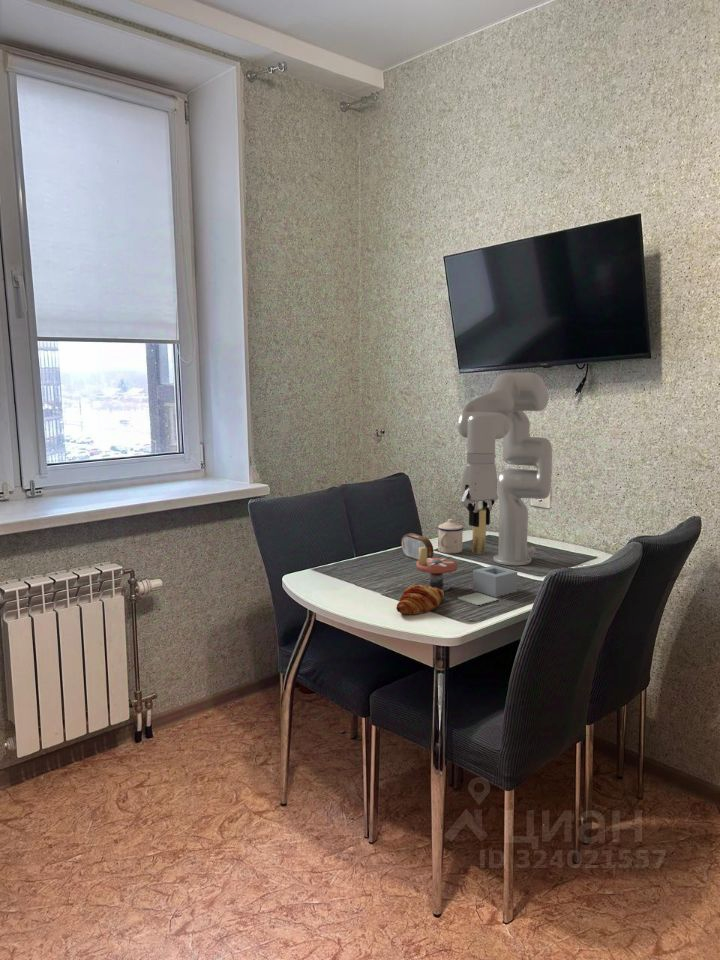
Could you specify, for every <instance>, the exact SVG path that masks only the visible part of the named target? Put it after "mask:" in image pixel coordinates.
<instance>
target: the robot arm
mask: <svg viewBox="0 0 720 960" xmlns="http://www.w3.org/2000/svg"><path fill="white" fill-rule="evenodd" d="M548 403H549V391H548V388H547V386H546V384H545V382H544V380H543V379H542V378H541V376H540V375H538V374H537V373H535V372H503V373H501V374H500V375H498V376H497V377H496V378H495V380H494V382H493V384H492V385H491V388H490V389H489V391H488V392H487V393H486V394H482V395H481V396H478V397H477V398H475V399H473V400H470V401H469V402H468V403H467V404H465V406H464V408H462V411H461V413H460V415H459V418H458V420H457V430H458V433H459V434H460V436H461V437H463V438H464V439H466V440H467V441H466V442H467V443H466V449H467V450H466V464H464V466H463V472H462V476H461V488H460V498H461V500H460V503H461V505H463V506H464V507H465V508H466V511H467V512H469V514H468V526H471V527H473V526H474V527H478V526H479V512H477V511H478V508H479V502H481V508H483V509H486V526H489V525H490V524H491V523H490V522H491V511H492V509H493V505H494V504H495V503H496V502H497V501H498V500H499V501H498V504H499V505H498V506H499V507H498V508H499V509H498V510H499V512H498V514H499V515H498V548H497V549H498V550H497V551H498V554H495V555H493V561H494V562H495V563H497V564H500V565H506V566H527V565H529V564H530V563H531V562H532V558H531V557H530V556H529V555H530V554H533V553H536V548H535V547H534V546H532V547H528V530H529V528H528V527H529V526H528V525H529V510H528V508H527V505H526V504H525V502H524V501H523V500H522V499H533V500H535V499H536V500H537V499H538V500H545V499H546V498H548V497H549V496H550V494H551V489H552V469H553V468H552V466H553V465H552V464H553V448H552V444H551V441H550V440H549V439H547V437H540V436H539V437H538V436H530V428H531V427H530V425H531V424H530V419H529V418H528V415H527V414H526V413H525V411H526V412H541V411H543V410H545V409H546V408H547V405H548ZM501 439H502V457H503V458H502V459H503V461H504V462H505V463H506V464H508V465H511V466H513V465H514V466H532V467H535V468H536V469H525V468H523V469H521V468H507V469H503V470H502V471H500V472H499V473H498V471H497V467H496V465H497V464H496V462H495V461H496V440H501Z"/></svg>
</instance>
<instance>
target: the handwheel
mask: <svg viewBox="0 0 720 960" xmlns="http://www.w3.org/2000/svg"><path fill="white" fill-rule="evenodd" d="M415 565H416V566H415V567H416V569H417V570H418V571H420V572H423V573H429V574H430V573H443V574H447V573H448V574H449V573H454V572H456V571H457V570H458V562H457V561H455V560H453V559H450V558H444V557H441V558H440V557H432V558H427V548H426V547H419V560H416V564H415Z"/></svg>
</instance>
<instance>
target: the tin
mask: <svg viewBox="0 0 720 960" xmlns="http://www.w3.org/2000/svg"><path fill="white" fill-rule="evenodd" d="M400 546H401V550H402V552H403V555H404V556H406V557H407V558H410V559H412V560H415V561H418V560H419V547H426V548H427V558H434V553H435V552H434V546H433V543H432V541H431V540H430V539H429V538H428V537H426V536H422V535H420V534H417V533H412V532H410V533H407V534H404V535H403V536H402V537H401V541H400Z"/></svg>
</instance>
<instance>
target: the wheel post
mask: <svg viewBox="0 0 720 960" xmlns="http://www.w3.org/2000/svg"><path fill="white" fill-rule="evenodd" d="M424 585H428V586H431V587H433V588H434V587H436V588H438V589H440V590H443V592H444V593H446V592H449V591H451V585H450V584H448V583H446V582H444V573H429V581H428V582H426V583H423V585H422V586H424Z"/></svg>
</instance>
